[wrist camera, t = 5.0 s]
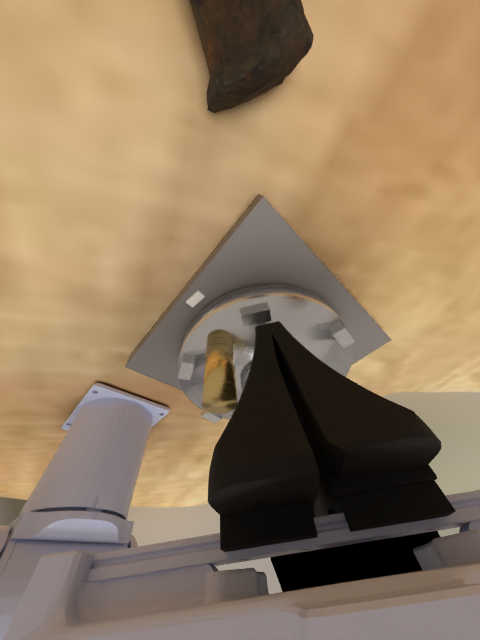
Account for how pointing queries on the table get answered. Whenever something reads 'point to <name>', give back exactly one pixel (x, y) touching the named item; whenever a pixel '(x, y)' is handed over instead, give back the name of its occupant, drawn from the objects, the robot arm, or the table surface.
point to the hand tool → (249, 46)
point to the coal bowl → (349, 561)
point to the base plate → (247, 270)
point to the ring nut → (253, 341)
